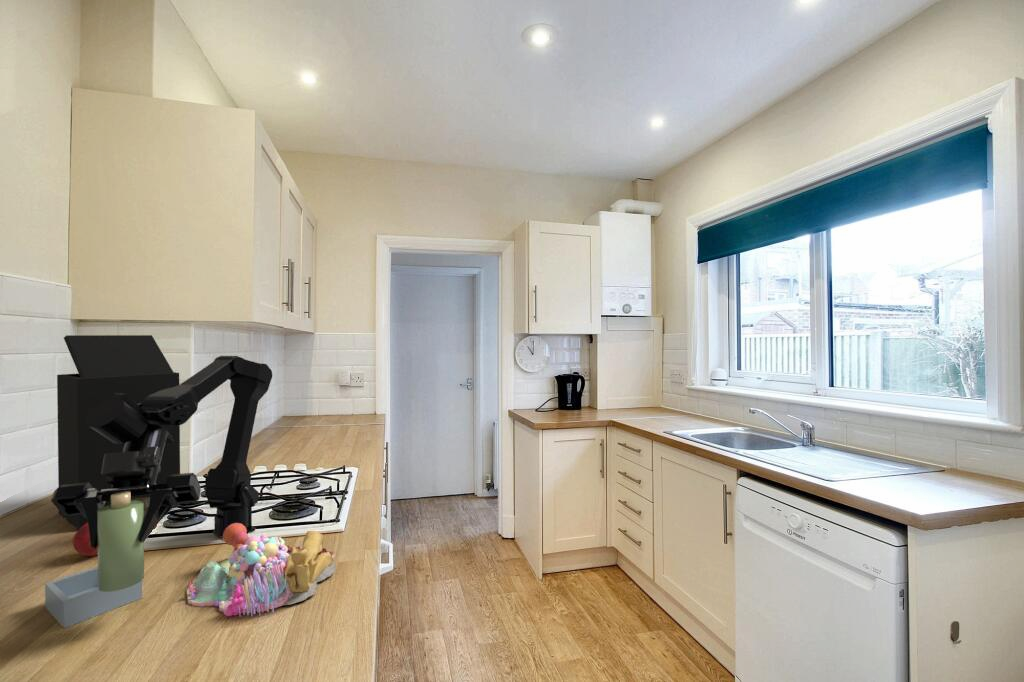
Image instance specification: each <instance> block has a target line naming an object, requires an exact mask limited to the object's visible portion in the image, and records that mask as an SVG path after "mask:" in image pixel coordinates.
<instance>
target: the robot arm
mask: <svg viewBox="0 0 1024 682" xmlns="http://www.w3.org/2000/svg"><path fill="white" fill-rule="evenodd" d="M272 379H273V371H272V369H271V368H270V366H268V364H266V363H263V362H262V363H259V362H257V361H256V362H255V361H252V360H247V359H245V358H243V357H241V356H238V355H220V356H216V357H215V358H214V360H213V361H212V362H211V363H210V364H209V363H208V365H207V366H205V367H204V368H202V369H201V370H199V371H197V372H196V373H195V374H193V375H192V376H190V377H189V378H187V379H186V380H184V381H183V382H181V383H179V385H178V386H175V387H172V388H168V389H164V390H161V391H158V392H156V393H154V394H151V395H149V396H147V397H146V398H145V399H144V400H143V401H142V403H139V404H136V403H135V402H133V401H132V399H131V398H130V397H129V396H128V395H126V394H114V395H113V396H112V398H111V399H109V400H106V401H104V402H102V403H100V404H99V405H97V406H96V407H95V408H92V409H91V410H90V411H89V412H88V414H87V416H86V419H85V422H86V425H88V426H89V427H90V428H92V429H93V430H95V431H96V432H98V433H99V434H101V435H102V436H104V437H105V438H107V439H108V440H110V441H111V442H113V443H115V444H122V443H125V446H124V449H123V452H120V453H108V454H104V459H103V465H102V471H101V475H106V476H107V479H106V482H107V483H108V484H112V488H111V489H98V488H93V487H92V486H91V485H90V483H89V482H87V483H76V484H66V485H61V486H60V487H59V486H58V487H57V488H56V489H55V490H54V491H53V494H52V496H51V500H50V501H51V502H52V504H53V505H54V506H55V507H56V509H57V510H58V512H59V511H60V512H61V513H62V514H63V515H67V516H72V515H81V514H82V515H83V516H84V517H85V518H87V520H88V526H89V535H90V543H91V547H92V548H93V549H96V548H97V546H98V526H97V510H98V509H100V508H101V507H103V506H104V505H105V502H106V501H111V495H112V494H115V493H118V492H126V491H128V492H131V499H134V498H143V497H150V502H149V507H148V510H147V513H146V516H145V519H144V522H143V525H142V528H141V531H140V536H139V541H140V542H144V543H145V541H147V538H149V537H148V536H149V534H150V533H151V532H152V530H153V529H154V528H155V527H156V525H157V524H158V523H161V521H162V519H163V518H165V517H166V515H168V513H169V512H170V511H171V510H173V509H177V508H178V507H179V506H180V505H179V503H180V504H185V503H186V504H187V503H195V502H197V501H199V500H200V497H201V491H202V489H201V484H200V482H199V479H198V477H197V475H196V474H195V473H194V472H186V473H180V474H174V475H169V476H168V477H167V482H166V483H164V484H155V483H156V479H157V475H158V473H160V470H161V467H160V462H161V458H162V454H163V450H164V446H165V445H167V444H171V443H174V439H173V437H172V436H171V435H170V434H169V433H168V431H167V430H165V429H163V428H162V427H161V426H159V425H180V426H182V425H184V424H186V423H187V422H188V421H189V419H190V418H192V417H193V416H194V414H195V413H197V410H198V406H199V403H200V402H201V401H202V400H203V399H204V398H206V397H207V396H208V395H210V394H211V393H212V392H214V391H215V390H216V389H218V388H219V387H220V386H221V385H223V384H224V383H225V382H227V381H229V382H230V383H229V387H230V390H231V392H232V395H233V397H234V401H233V407H232V411H231V415H230V421H229V425H228V427H227V428H228V430H227V434H226V437H225V438H226V439H225V443H224V447H223V453H222V457H221V460H220V462H219V463H218V465H216V467H214V468H211V467H210V469H209V470H208V472H207V477H206V482H205V483H204V486H203V487H204V488H205V490H204V492H205V493H204V494H205V495H204V496H205V497H206V500H207V502H208V505H209V508H210V509H216V514H215V515H214V519H213V520H214V523H213V525H214V530H213V531H212V534H213V535H215V536H218V537H220V538H222V539H223V532H224V530H225V529H226V528H227V527H228V526H229V525H231V524H233V523H241V524H243V525H244V526H245V527H246V530H247V534H248V533H250V532H254V531H256V526H253V523H252V521H253V519H252V515H253V514H252V513H253V512H252V507H255V506H256V504H257V503H258V502H259V498H260V492H259V491H258V490H257V489H256V488H255V487H254V486H253V485H251V483H252V482H251V481H252V473H251V470H250V469H249V466H248V463H247V462H248V461H247V460H248V454H249V451H250V443H251V440H252V436H253V435H252V434H253V430H254V424H255V421H256V420H255V419H256V416H257V415H256V414H257V409H258V404H259V401H260V400H261V399H262V398H263V397H264V395H266V394H267V392H268V391H269V388H270V385H271V382H272ZM178 505H179V506H178Z"/></svg>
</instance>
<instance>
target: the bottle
mask: <svg viewBox="0 0 1024 682" xmlns="http://www.w3.org/2000/svg"><path fill="white" fill-rule="evenodd" d="M143 522H144V505H143V501H139V500H131V492H128V491H126V492H118V493H115V494H112V495H111V504H109V505H106V506H103V507H101V508H100V509H98V510H97V526H98V554H97V567H98V589H99V590H100V591H103V592H111V591H117V590H121V589H125V588H128V587H131V586H133V585H135V584H137V583H139V582H140V581H142V582H143V579H144V578H145V541H144V542H140V541H139V536H140V531H141V528H142V525H143Z"/></svg>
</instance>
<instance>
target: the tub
mask: <svg viewBox="0 0 1024 682" xmlns="http://www.w3.org/2000/svg"><path fill="white" fill-rule="evenodd" d="M141 599H143V580H142V581H140V582H139V583H137V584H135V585H133V586H131V587H128V588H125V589H121V590H117V591H111V592H103V591H100V590H99V589H98V566H96V567H93V568H90V569H86V570H83V571H80V572H77V573H74V574H71V575H70V574H69V575H68V576H65V577H61V578H58V579H55V580H52V581H49V582H46V583H44V601H45V604H44V607H45V609H46V610H47V611H48V612H49V613H50V614H51V615H52V616H53V618H54V619H55V620H56V621H57V622H58V623H59V624H60V625H61V626H62V627H63V628H64V629H65V628H68V627H71V626H73V625H76V624H79V623H82V622H83V621H86V620H89V619H91V618H93V617H96V616H99V615H102V614H104V613H107V612H110V611H112V610H114V609H117V608H120V607H122V606H125V605H127V604H130V603H133V602H134V601H138V600H141Z"/></svg>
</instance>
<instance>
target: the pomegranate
mask: <svg viewBox="0 0 1024 682" xmlns="http://www.w3.org/2000/svg"><path fill="white" fill-rule="evenodd" d="M72 546H73V547H72V548H73V549H74V550H75V551H76V553H78V554H80V555H83V556H88V557H95V556H96V555H97V556H98V546H97V548H96V549H93V548H92V547H91V543H90V535H89V526H88V522H87V523H86V524H84V525H83V526H82V527H81V528H80V529H79V530H77V531H76V532H75V534H74V536H73V539H72Z"/></svg>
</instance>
